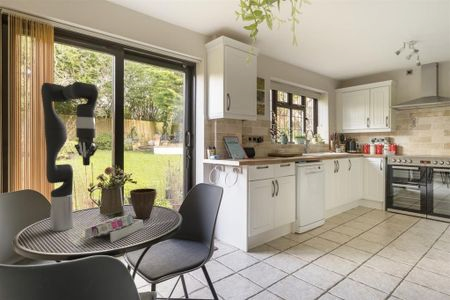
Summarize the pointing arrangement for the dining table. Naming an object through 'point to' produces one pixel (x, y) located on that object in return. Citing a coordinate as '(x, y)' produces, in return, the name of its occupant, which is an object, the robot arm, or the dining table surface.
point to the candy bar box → (112, 225)
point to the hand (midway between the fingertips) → (86, 165)
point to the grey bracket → (121, 232)
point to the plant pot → (143, 202)
